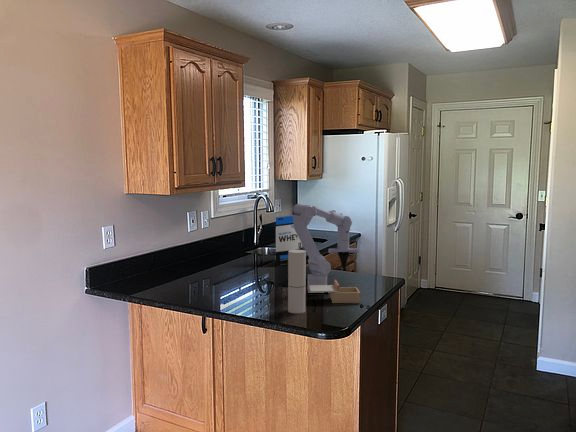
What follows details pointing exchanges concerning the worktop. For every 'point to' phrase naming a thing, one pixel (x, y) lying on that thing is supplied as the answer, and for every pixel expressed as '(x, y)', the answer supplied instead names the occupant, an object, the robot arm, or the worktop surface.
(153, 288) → the worktop surface
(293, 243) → the protein powder
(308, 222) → the robot arm
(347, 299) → the box
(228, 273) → the worktop surface
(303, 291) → the cylindrical container
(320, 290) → the mailer lid
